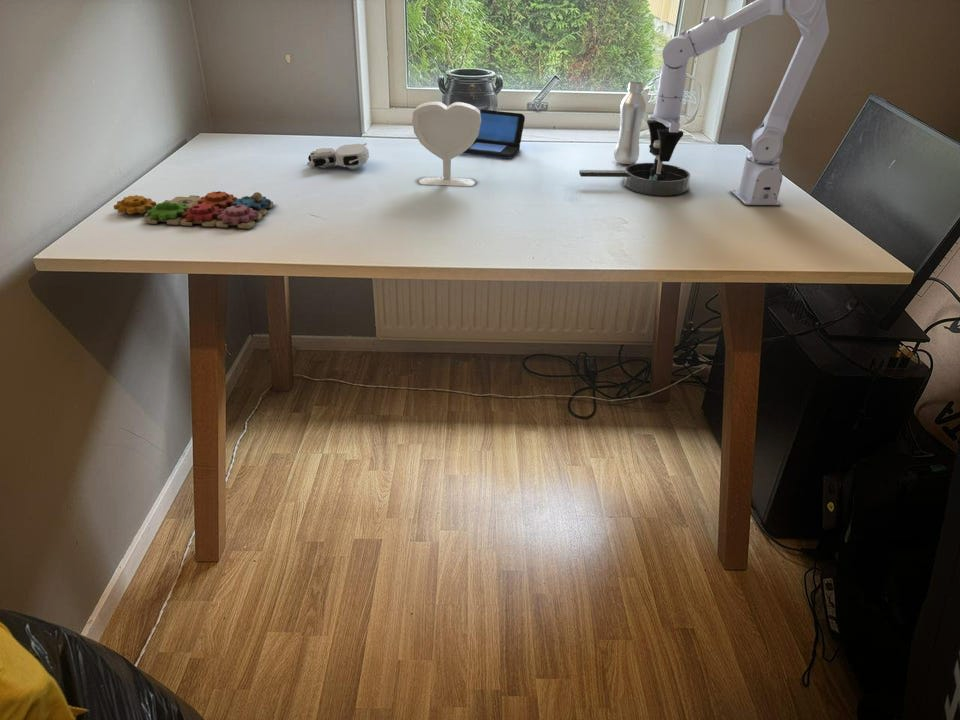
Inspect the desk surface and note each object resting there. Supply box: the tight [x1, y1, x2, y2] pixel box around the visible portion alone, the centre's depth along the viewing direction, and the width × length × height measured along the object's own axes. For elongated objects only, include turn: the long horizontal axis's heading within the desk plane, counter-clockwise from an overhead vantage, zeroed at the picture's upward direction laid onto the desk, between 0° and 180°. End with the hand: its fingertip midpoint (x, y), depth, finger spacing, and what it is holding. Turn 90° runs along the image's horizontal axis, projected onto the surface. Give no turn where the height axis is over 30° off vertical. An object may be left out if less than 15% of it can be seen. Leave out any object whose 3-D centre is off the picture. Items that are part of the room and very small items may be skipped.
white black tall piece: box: [648, 140, 664, 181], centre depth 163 cm, size 7×5×10 cm
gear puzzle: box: [113, 190, 274, 230], centre depth 142 cm, size 31×16×4 cm, turn 85°
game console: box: [462, 108, 526, 160], centre depth 187 cm, size 16×13×9 cm
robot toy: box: [306, 143, 370, 170], centre depth 173 cm, size 12×4×15 cm
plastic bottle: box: [613, 81, 647, 165], centre depth 176 cm, size 6×7×20 cm
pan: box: [623, 162, 691, 197], centre depth 165 cm, size 15×15×4 cm
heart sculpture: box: [411, 100, 481, 187], centre depth 160 cm, size 16×5×18 cm, turn 88°
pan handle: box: [579, 169, 627, 178], centre depth 163 cm, size 2×11×1 cm, turn 93°
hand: (659, 156), depth 162 cm, fingers open, 7 cm apart
